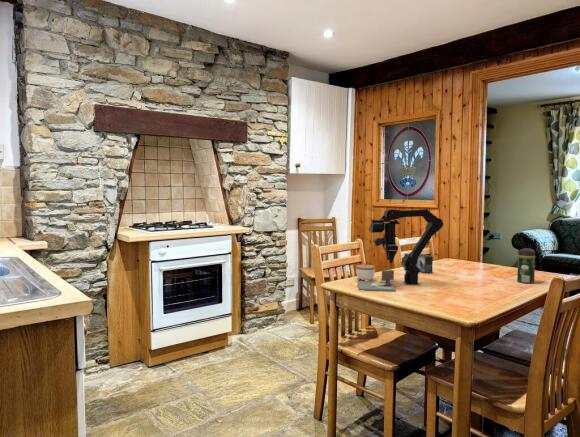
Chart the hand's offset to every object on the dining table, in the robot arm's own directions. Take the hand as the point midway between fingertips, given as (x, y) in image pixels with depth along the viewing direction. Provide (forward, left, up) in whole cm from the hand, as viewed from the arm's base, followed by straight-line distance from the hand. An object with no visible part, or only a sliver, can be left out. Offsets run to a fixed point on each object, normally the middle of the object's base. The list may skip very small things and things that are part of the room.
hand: (389, 261), depth 222 cm
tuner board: (+8, +9, -12) cm, 17 cm away
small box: (-25, -37, -12) cm, 46 cm away
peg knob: (+5, +11, -11) cm, 16 cm away
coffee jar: (-75, -13, -12) cm, 77 cm away
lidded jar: (+12, -9, -12) cm, 19 cm away
